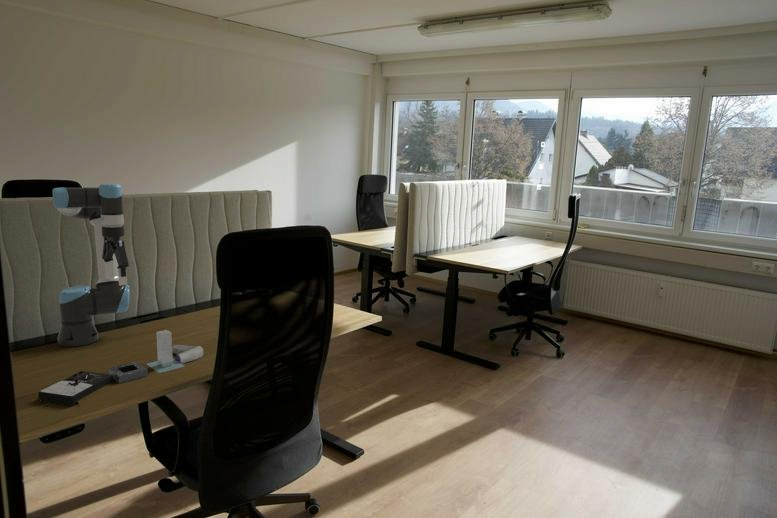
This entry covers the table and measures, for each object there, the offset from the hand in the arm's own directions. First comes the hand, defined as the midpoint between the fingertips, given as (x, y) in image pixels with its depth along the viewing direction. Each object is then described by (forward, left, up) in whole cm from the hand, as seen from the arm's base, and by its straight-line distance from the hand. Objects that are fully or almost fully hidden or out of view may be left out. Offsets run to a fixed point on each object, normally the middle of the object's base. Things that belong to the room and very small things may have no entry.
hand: (116, 281), depth 212 cm
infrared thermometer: (+10, +19, -32) cm, 39 cm away
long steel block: (+17, +10, -31) cm, 36 cm away
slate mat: (+17, +10, -32) cm, 37 cm away
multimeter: (+19, -21, -32) cm, 43 cm away
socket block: (+18, -4, -32) cm, 37 cm away
